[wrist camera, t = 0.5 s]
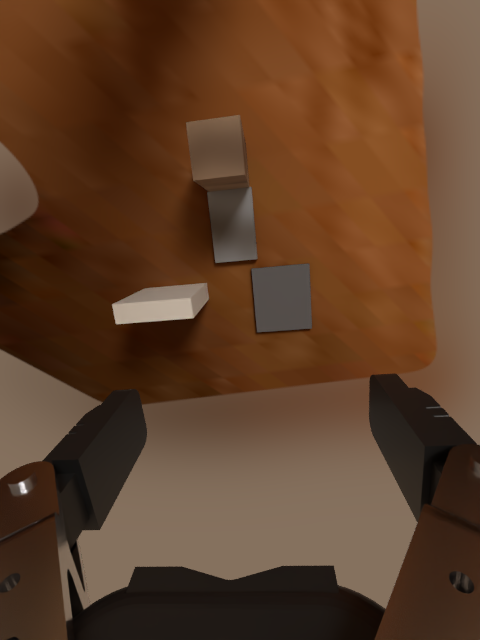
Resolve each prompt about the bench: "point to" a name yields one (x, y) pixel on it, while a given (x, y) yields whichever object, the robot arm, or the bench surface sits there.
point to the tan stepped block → (224, 185)
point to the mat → (282, 297)
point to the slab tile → (161, 304)
